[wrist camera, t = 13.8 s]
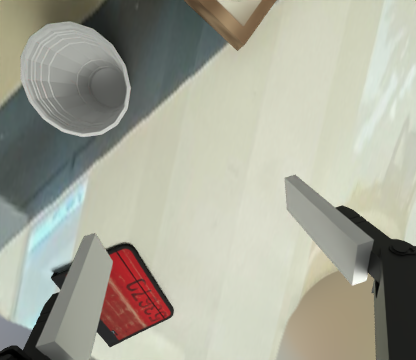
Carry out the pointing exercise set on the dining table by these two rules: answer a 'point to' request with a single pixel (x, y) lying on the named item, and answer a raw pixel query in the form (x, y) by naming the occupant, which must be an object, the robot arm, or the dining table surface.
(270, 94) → the dining table surface
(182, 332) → the dining table surface
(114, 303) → the binder
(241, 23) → the picture frame
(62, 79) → the plastic cup
